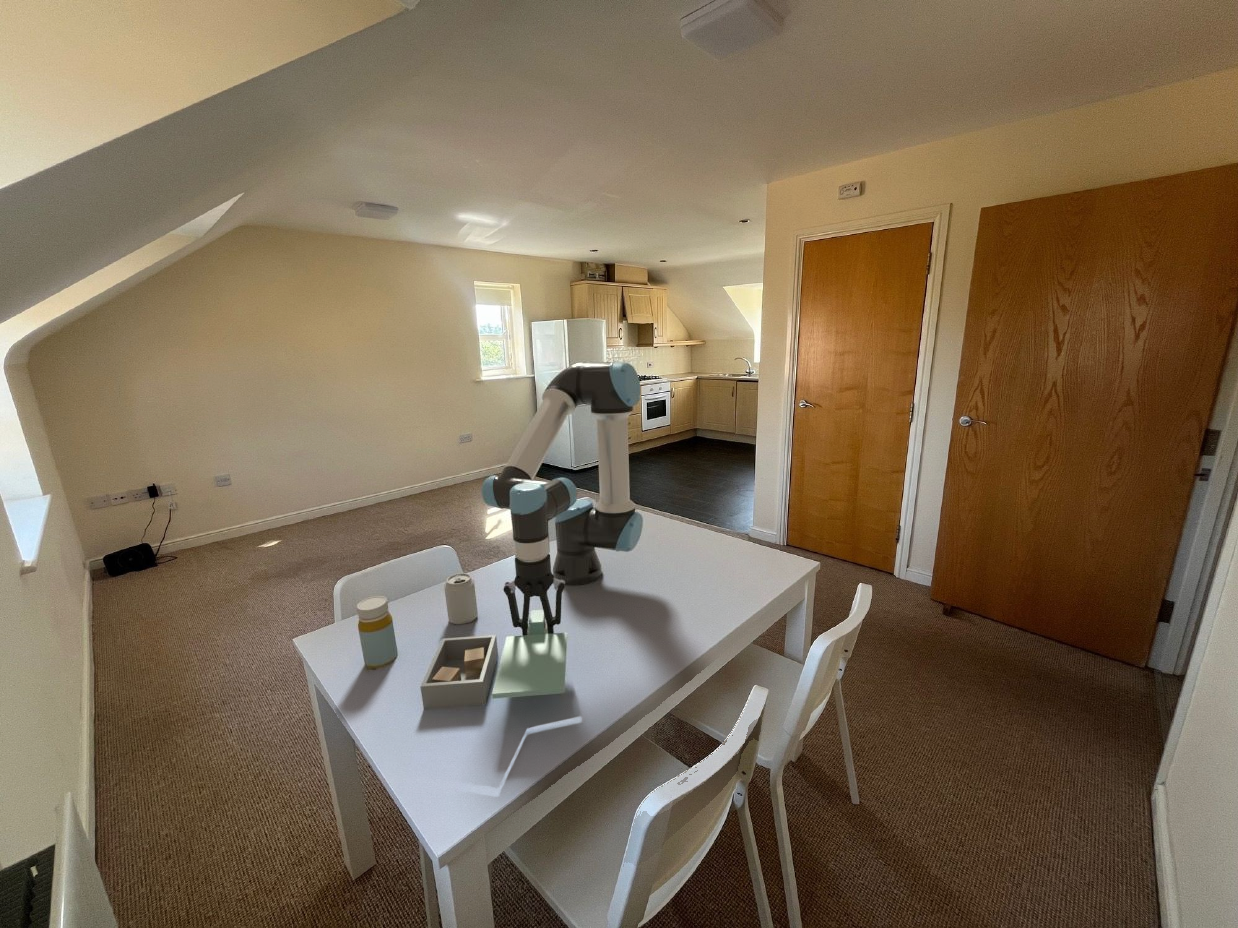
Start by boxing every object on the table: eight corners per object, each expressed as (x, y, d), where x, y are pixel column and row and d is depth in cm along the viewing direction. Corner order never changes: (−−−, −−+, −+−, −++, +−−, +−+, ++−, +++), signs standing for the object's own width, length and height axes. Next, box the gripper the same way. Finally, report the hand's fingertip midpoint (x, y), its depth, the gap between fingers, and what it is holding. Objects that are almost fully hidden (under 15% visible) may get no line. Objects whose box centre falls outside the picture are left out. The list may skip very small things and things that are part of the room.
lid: (568, 635, 113) (566, 608, 112) (565, 706, 91) (563, 674, 89) (511, 639, 112) (508, 611, 111) (494, 712, 90) (490, 679, 88)
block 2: (485, 662, 111) (483, 647, 110) (485, 673, 107) (483, 657, 106) (467, 666, 110) (465, 650, 109) (466, 677, 106) (464, 661, 105)
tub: (498, 657, 114) (496, 634, 112) (485, 707, 98) (482, 681, 97) (445, 661, 113) (442, 638, 112) (424, 712, 98) (420, 686, 96)
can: (451, 629, 126) (445, 587, 123) (446, 616, 132) (441, 575, 129) (480, 621, 129) (476, 580, 126) (475, 608, 135) (470, 568, 133)
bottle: (376, 674, 109) (366, 614, 106) (358, 664, 113) (348, 606, 109) (404, 657, 115) (395, 599, 111) (386, 648, 119) (377, 592, 115)
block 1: (461, 684, 104) (459, 668, 103) (452, 697, 100) (450, 680, 99) (444, 682, 105) (442, 666, 104) (434, 695, 101) (431, 679, 100)
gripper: (570, 545, 109) (575, 639, 115) (497, 550, 108) (505, 644, 114) (569, 560, 102) (575, 659, 108) (491, 564, 101) (500, 664, 107)
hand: (539, 651), depth 111 cm, fingers closed on lid, 3 cm apart
